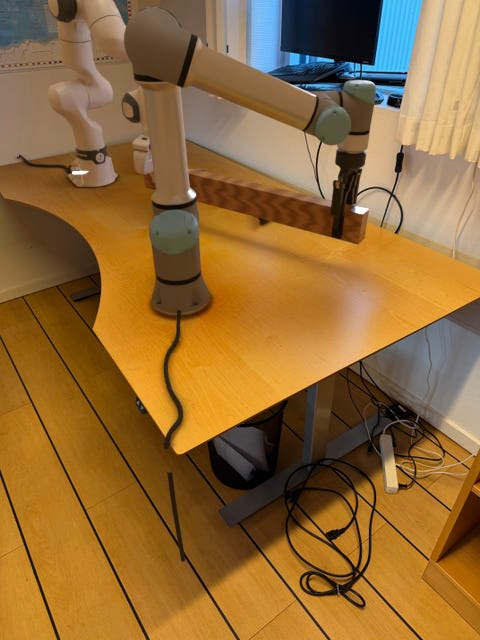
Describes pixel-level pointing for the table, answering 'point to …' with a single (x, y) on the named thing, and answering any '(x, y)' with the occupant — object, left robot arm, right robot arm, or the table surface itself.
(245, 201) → the beam
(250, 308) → the table surface
